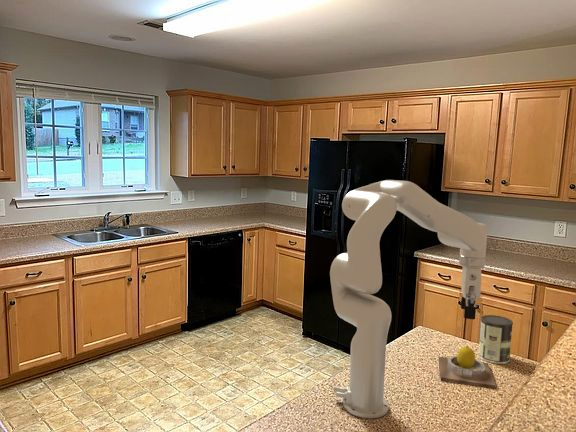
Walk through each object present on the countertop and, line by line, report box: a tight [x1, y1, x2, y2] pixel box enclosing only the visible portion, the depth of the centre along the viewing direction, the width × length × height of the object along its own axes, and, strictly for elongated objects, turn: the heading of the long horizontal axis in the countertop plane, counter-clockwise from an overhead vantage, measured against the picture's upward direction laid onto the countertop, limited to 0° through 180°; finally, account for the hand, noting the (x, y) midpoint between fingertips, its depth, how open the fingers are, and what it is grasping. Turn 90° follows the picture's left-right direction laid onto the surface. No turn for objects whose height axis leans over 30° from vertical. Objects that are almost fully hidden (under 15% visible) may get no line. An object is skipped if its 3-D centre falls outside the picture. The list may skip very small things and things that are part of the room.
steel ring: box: [447, 355, 485, 378], centre depth 146 cm, size 11×11×2 cm
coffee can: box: [478, 314, 514, 365], centre depth 157 cm, size 10×10×14 cm
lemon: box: [456, 345, 476, 369], centre depth 145 cm, size 6×6×8 cm
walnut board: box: [437, 356, 497, 390], centre depth 146 cm, size 16×16×1 cm
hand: (467, 313), depth 143 cm, fingers open, 9 cm apart
